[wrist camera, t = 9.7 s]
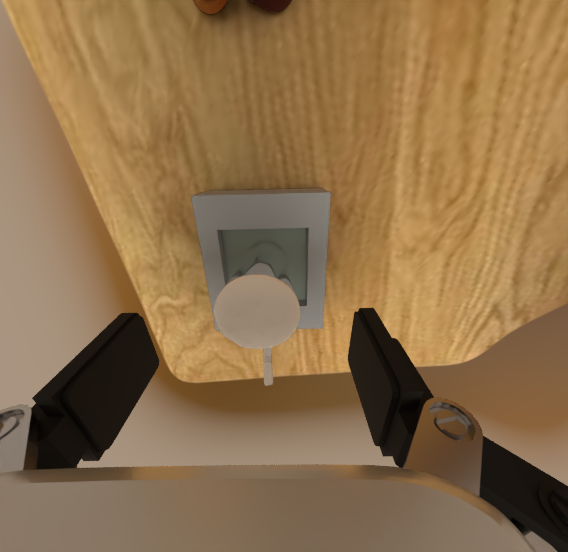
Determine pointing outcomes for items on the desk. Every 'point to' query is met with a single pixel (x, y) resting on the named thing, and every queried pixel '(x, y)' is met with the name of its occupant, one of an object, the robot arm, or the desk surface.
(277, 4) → the binoculars
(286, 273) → the milkshake
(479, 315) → the desk surface
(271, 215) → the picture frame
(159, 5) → the desk surface
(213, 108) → the desk surface
